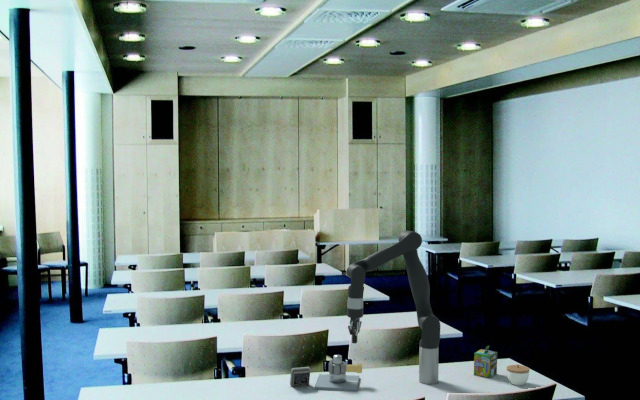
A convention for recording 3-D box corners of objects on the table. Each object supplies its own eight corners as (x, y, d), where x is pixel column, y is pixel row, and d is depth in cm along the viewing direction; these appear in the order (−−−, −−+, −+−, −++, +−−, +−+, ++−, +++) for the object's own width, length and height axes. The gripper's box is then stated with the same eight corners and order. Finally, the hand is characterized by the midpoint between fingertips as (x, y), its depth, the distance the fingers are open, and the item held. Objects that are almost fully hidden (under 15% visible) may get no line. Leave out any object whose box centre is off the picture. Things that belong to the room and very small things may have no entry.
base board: (359, 378, 356) (359, 359, 355) (356, 391, 336) (356, 371, 336) (319, 376, 358) (319, 357, 358) (314, 389, 338) (314, 369, 338)
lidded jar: (533, 384, 346) (534, 365, 346) (517, 388, 341) (518, 369, 340) (517, 378, 355) (517, 360, 355) (501, 382, 350) (501, 363, 349)
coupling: (362, 369, 350) (362, 361, 349) (361, 374, 341) (361, 366, 341) (329, 368, 351) (329, 360, 351) (328, 373, 343) (328, 365, 343)
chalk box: (480, 370, 369) (480, 342, 368) (497, 374, 364) (497, 345, 363) (473, 375, 361) (473, 346, 361) (490, 378, 356) (490, 349, 355)
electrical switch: (308, 383, 347) (308, 365, 346) (311, 387, 342) (311, 369, 341) (289, 385, 344) (290, 367, 343) (292, 389, 339) (292, 371, 338)
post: (346, 378, 351) (346, 353, 350) (345, 383, 343) (345, 358, 342) (330, 378, 351) (330, 353, 351) (328, 383, 344) (328, 357, 343)
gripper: (358, 310, 331) (357, 347, 332) (367, 305, 343) (366, 340, 344) (342, 308, 334) (342, 345, 335) (352, 303, 346) (351, 339, 347)
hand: (354, 342), depth 340 cm, fingers closed
